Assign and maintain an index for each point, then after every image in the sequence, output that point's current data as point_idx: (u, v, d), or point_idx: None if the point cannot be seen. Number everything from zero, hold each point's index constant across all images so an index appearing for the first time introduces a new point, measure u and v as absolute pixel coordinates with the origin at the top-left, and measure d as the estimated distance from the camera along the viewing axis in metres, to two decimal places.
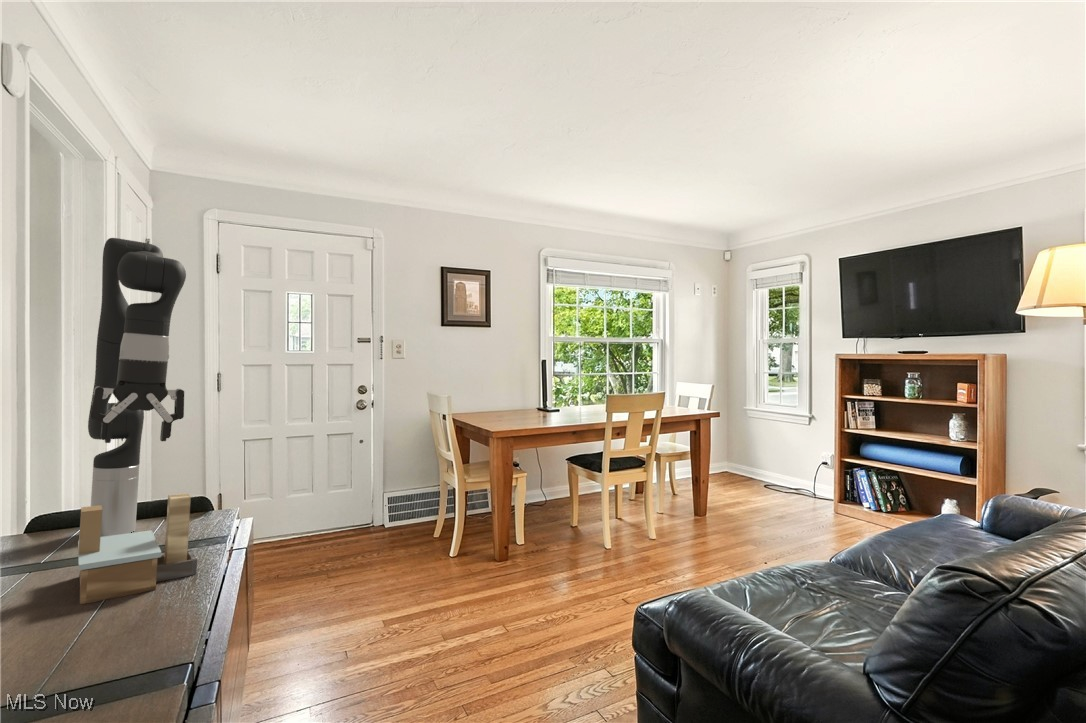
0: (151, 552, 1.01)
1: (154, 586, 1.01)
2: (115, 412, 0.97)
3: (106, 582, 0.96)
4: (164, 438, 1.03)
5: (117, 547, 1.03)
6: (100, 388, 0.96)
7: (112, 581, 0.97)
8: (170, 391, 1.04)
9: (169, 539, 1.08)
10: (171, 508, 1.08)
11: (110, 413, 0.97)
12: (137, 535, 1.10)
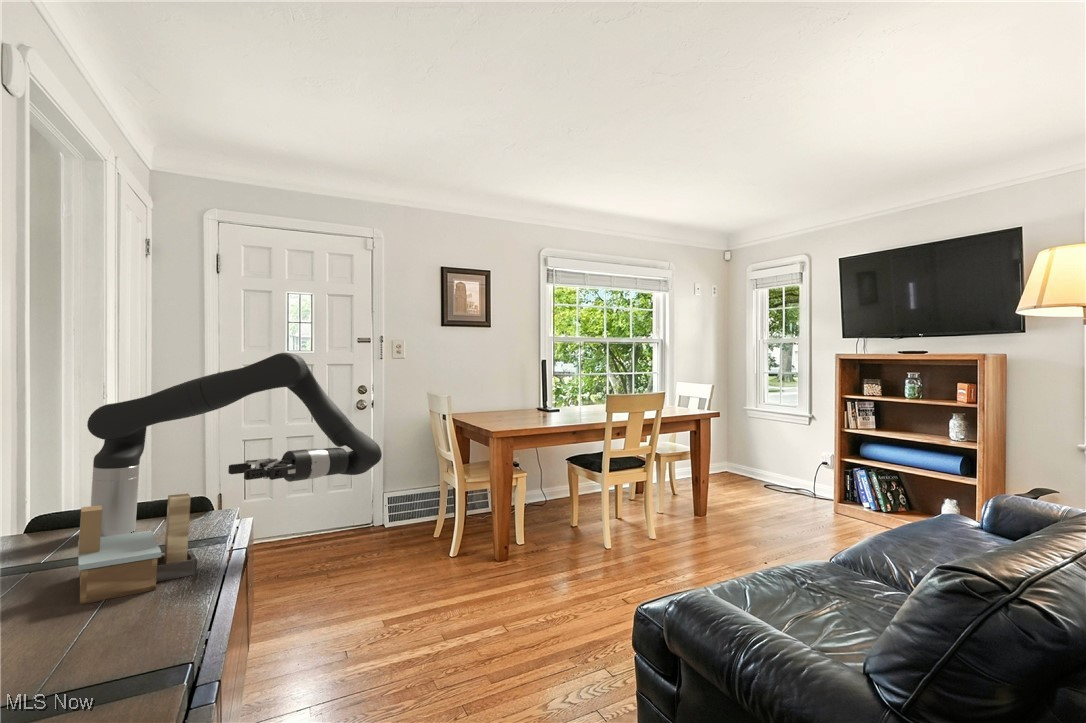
0: (151, 552, 1.01)
1: (154, 586, 1.01)
2: None
3: (106, 582, 0.96)
4: None
5: (117, 547, 1.03)
6: None
7: (112, 581, 0.97)
8: None
9: (169, 539, 1.08)
10: (171, 508, 1.08)
11: None
12: (137, 535, 1.10)
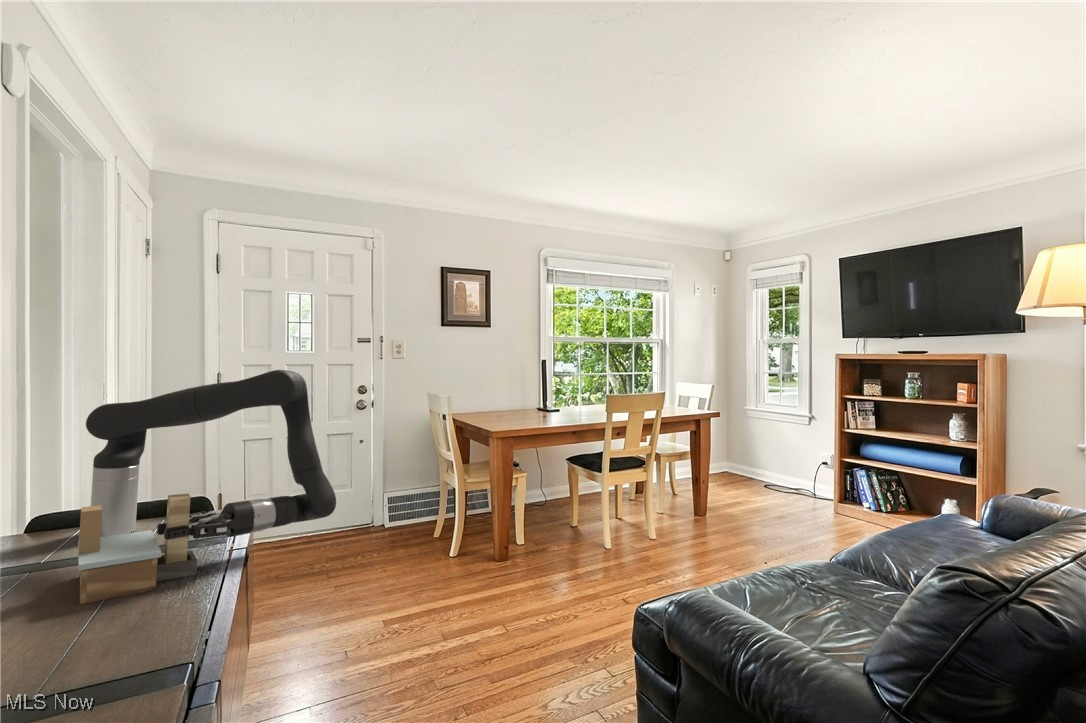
0: (151, 552, 1.01)
1: (154, 586, 1.01)
2: None
3: (106, 582, 0.96)
4: None
5: (117, 547, 1.03)
6: None
7: (112, 581, 0.97)
8: None
9: (169, 539, 1.08)
10: (171, 508, 1.08)
11: None
12: (137, 535, 1.10)
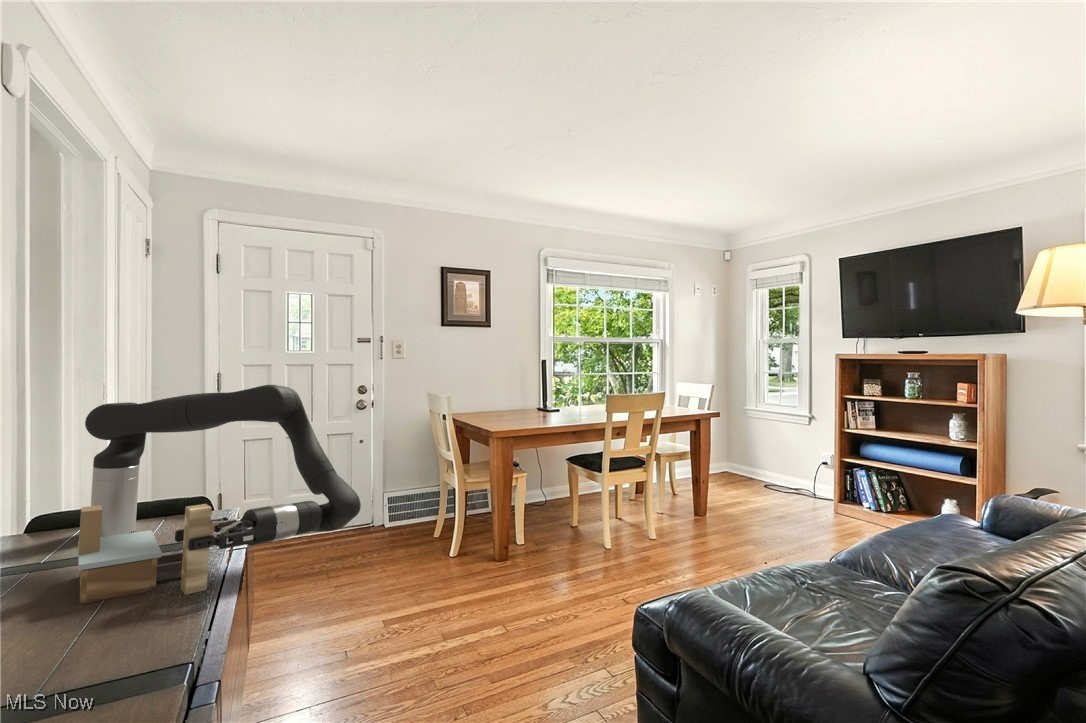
0: (151, 552, 1.01)
1: (154, 586, 1.01)
2: None
3: (106, 582, 0.96)
4: None
5: (117, 547, 1.03)
6: None
7: (112, 581, 0.97)
8: None
9: (189, 554, 1.00)
10: (191, 520, 1.00)
11: None
12: (137, 535, 1.10)
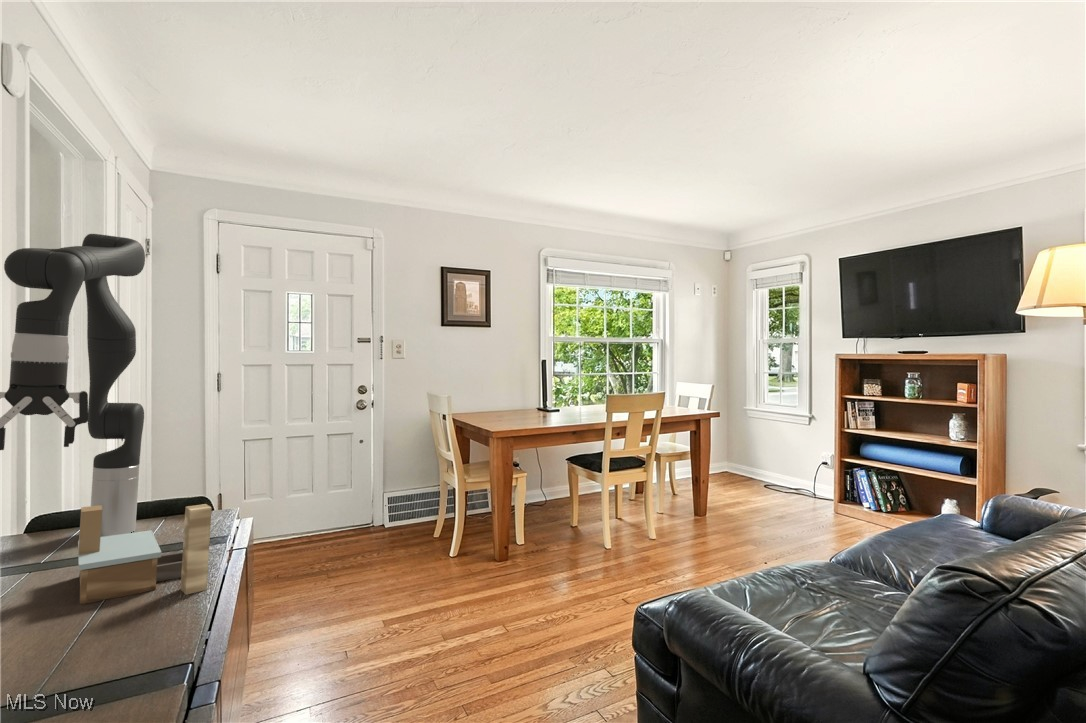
0: (151, 552, 1.01)
1: (154, 586, 1.01)
2: (7, 417, 0.92)
3: (106, 582, 0.96)
4: (66, 443, 0.97)
5: (117, 547, 1.03)
6: None
7: (112, 581, 0.97)
8: (72, 394, 0.98)
9: (189, 554, 1.00)
10: (191, 520, 1.00)
11: (1, 418, 0.92)
12: (137, 535, 1.10)
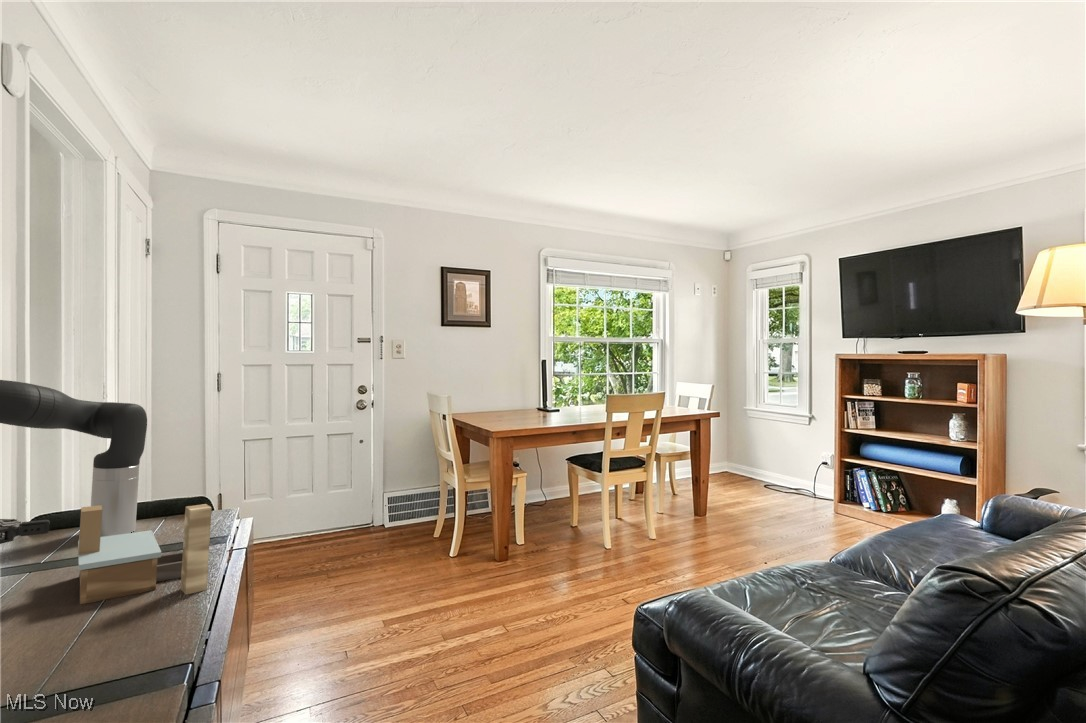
0: (151, 552, 1.01)
1: (154, 586, 1.01)
2: None
3: (106, 582, 0.96)
4: None
5: (117, 547, 1.03)
6: None
7: (112, 581, 0.97)
8: None
9: (189, 554, 1.00)
10: (191, 520, 1.00)
11: None
12: (137, 535, 1.10)
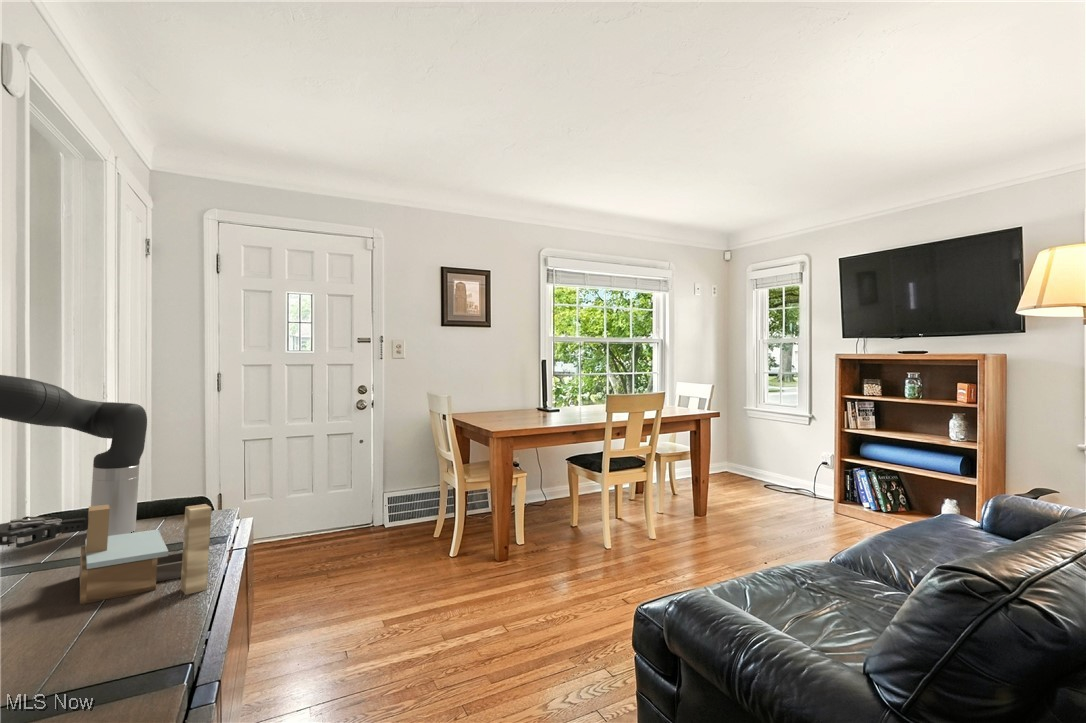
0: (158, 551, 1.02)
1: (154, 586, 1.01)
2: None
3: (106, 582, 0.96)
4: None
5: (125, 546, 1.04)
6: None
7: (112, 581, 0.97)
8: None
9: (189, 554, 1.00)
10: (191, 520, 1.00)
11: None
12: (144, 534, 1.11)
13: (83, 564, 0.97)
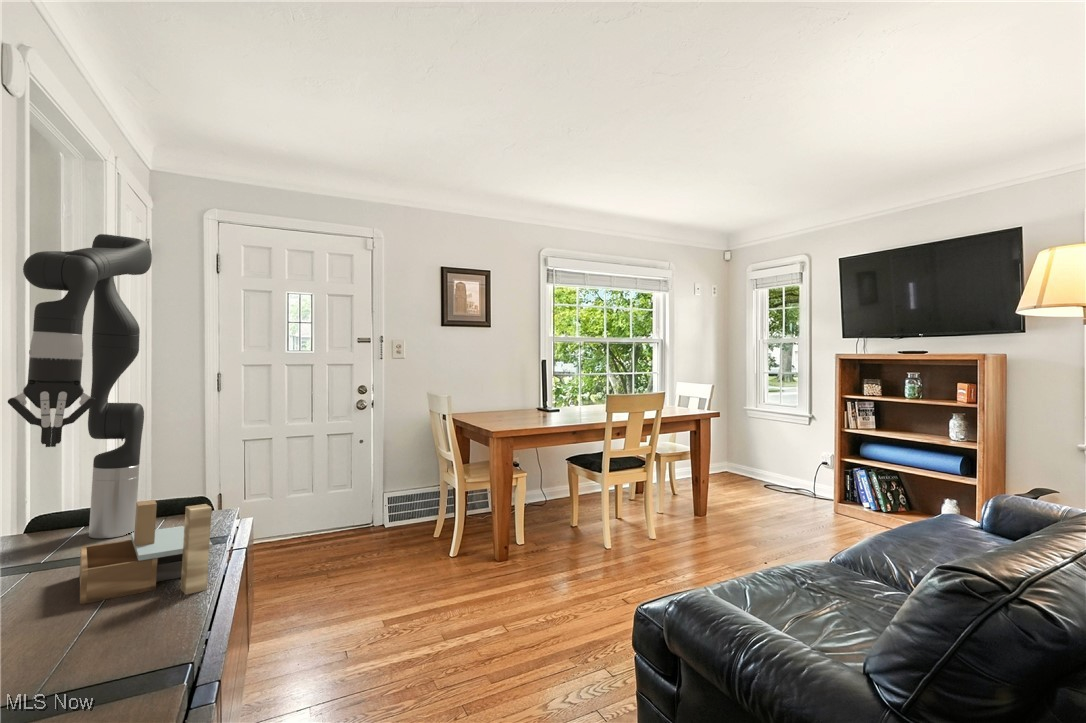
0: None
1: (154, 586, 1.01)
2: (45, 415, 0.99)
3: (106, 582, 0.96)
4: (53, 443, 1.00)
5: (170, 539, 1.08)
6: (11, 399, 0.96)
7: (112, 581, 0.97)
8: (84, 395, 1.03)
9: (189, 554, 1.00)
10: (191, 520, 1.00)
11: (42, 418, 0.99)
12: None
13: (83, 564, 0.97)
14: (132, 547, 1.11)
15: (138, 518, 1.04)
